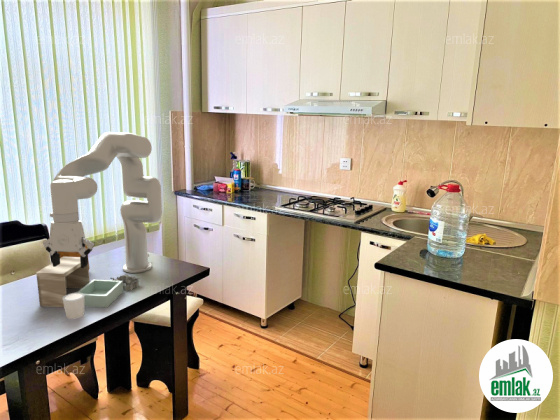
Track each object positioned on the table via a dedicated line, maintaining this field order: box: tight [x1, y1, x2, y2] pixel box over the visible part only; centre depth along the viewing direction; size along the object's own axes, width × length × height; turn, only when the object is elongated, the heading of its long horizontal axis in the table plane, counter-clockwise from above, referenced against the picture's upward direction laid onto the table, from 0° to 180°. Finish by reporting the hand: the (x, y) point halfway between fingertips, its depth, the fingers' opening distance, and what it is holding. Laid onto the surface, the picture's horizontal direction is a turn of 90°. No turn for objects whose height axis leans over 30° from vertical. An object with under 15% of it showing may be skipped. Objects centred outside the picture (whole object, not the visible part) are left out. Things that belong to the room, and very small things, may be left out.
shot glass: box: [63, 292, 85, 320], centre depth 143 cm, size 7×7×7 cm
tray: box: [76, 279, 124, 308], centre depth 156 cm, size 14×12×4 cm
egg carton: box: [110, 274, 141, 292], centre depth 168 cm, size 11×8×4 cm
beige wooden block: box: [35, 257, 91, 308], centre depth 156 cm, size 17×10×13 cm, turn 177°
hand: (70, 266), depth 139 cm, fingers open, 9 cm apart
